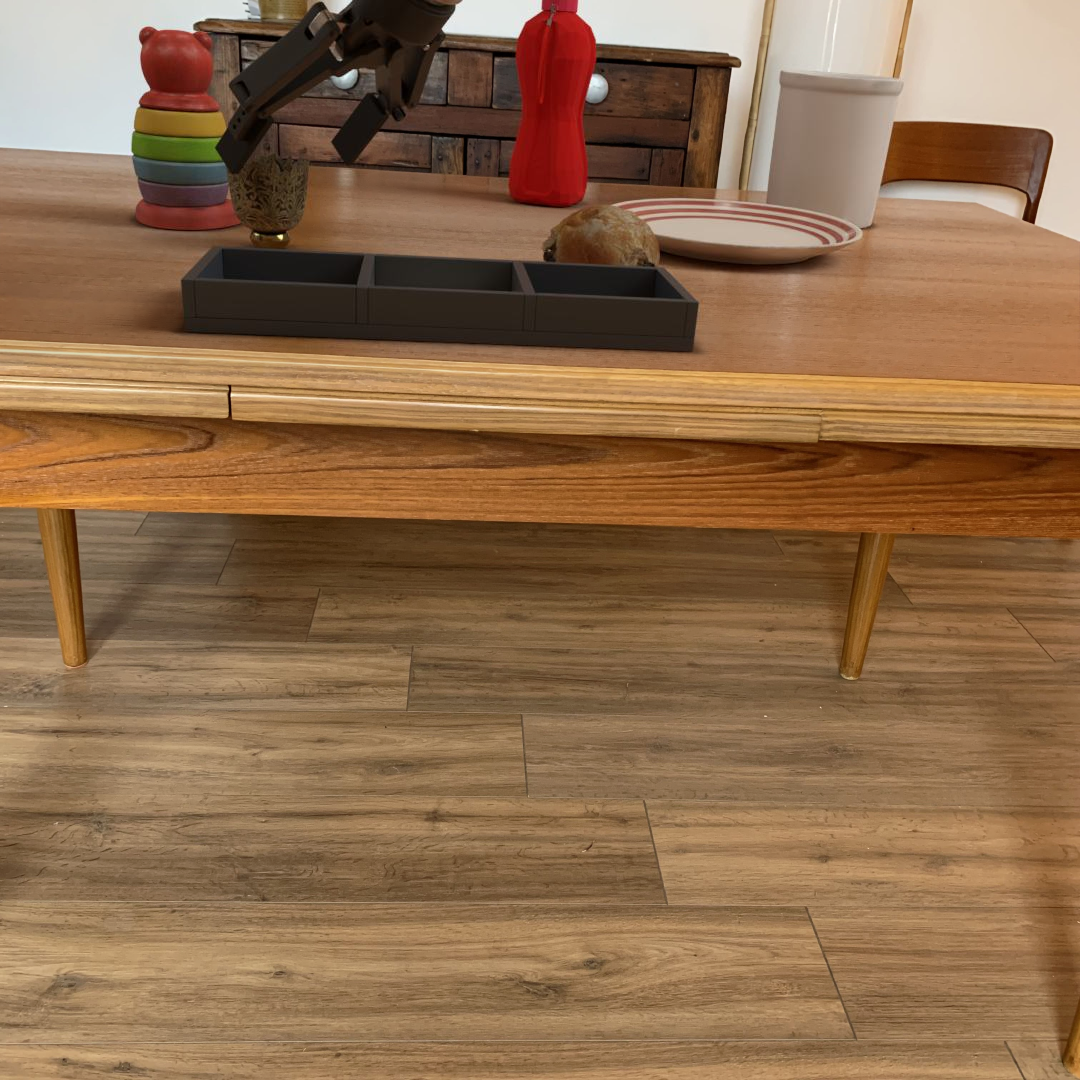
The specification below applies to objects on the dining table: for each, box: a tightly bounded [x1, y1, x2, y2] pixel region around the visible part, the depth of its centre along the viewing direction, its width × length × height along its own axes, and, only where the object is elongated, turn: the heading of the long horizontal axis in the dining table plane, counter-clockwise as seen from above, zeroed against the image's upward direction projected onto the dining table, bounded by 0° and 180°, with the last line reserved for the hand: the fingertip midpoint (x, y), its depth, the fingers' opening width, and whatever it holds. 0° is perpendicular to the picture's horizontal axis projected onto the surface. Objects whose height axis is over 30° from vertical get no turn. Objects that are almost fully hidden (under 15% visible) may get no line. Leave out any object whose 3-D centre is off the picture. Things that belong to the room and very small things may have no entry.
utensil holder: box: [765, 69, 905, 229], centre depth 138 cm, size 15×15×18 cm
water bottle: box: [508, 0, 597, 208], centre depth 134 cm, size 9×11×25 cm
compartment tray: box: [180, 245, 700, 353], centre depth 79 cm, size 35×12×4 cm, turn 95°
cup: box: [226, 152, 311, 249], centre depth 99 cm, size 8×7×8 cm
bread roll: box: [541, 204, 661, 267], centre depth 98 cm, size 10×10×8 cm
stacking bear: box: [130, 26, 242, 231], centre depth 106 cm, size 11×10×18 cm
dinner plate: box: [611, 197, 864, 265], centre depth 117 cm, size 28×27×3 cm
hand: (286, 157), depth 97 cm, fingers open, 13 cm apart
